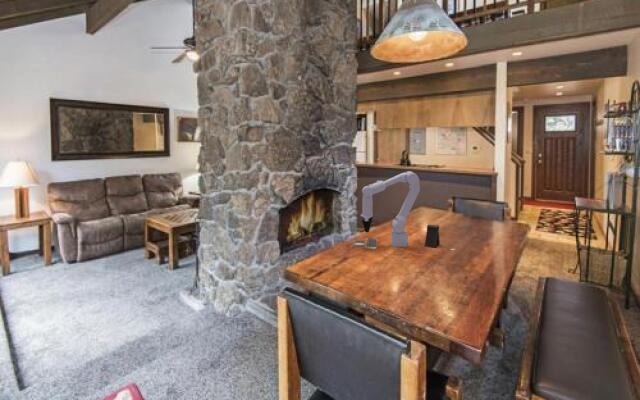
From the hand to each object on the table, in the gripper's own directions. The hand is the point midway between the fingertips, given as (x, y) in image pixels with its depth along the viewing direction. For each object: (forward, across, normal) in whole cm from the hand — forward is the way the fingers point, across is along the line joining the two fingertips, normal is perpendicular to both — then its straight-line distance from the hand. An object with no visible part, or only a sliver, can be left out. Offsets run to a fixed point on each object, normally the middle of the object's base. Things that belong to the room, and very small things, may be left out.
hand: (367, 230), depth 209 cm
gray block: (+9, +1, +3) cm, 9 cm away
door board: (+10, +1, -1) cm, 10 cm away
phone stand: (+10, -9, +37) cm, 40 cm away
